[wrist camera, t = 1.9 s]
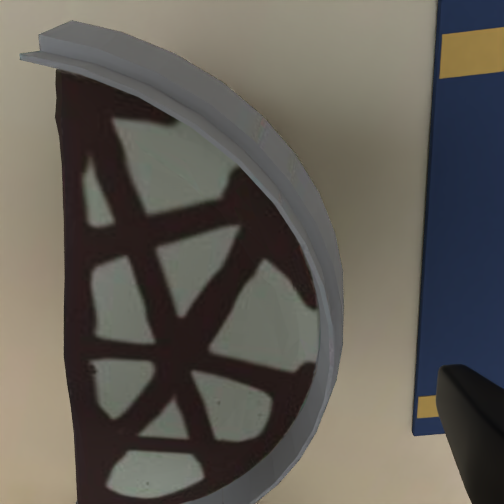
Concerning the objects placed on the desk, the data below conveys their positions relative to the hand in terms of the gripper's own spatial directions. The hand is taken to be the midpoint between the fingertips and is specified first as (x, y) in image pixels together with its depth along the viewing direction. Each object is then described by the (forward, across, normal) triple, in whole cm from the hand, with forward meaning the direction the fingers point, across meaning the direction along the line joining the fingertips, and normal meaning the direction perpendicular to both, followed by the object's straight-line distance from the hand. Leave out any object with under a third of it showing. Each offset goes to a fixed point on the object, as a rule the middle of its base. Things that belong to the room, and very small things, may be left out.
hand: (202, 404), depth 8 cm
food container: (+10, 0, 0) cm, 11 cm away
